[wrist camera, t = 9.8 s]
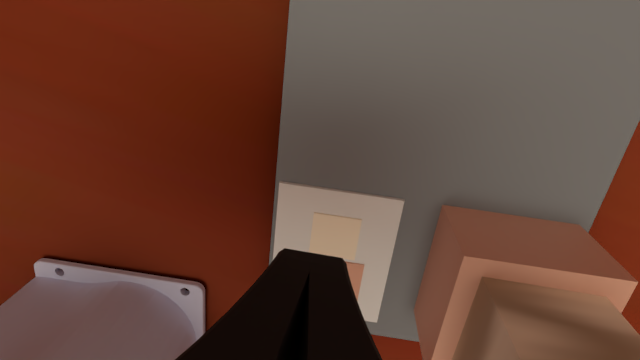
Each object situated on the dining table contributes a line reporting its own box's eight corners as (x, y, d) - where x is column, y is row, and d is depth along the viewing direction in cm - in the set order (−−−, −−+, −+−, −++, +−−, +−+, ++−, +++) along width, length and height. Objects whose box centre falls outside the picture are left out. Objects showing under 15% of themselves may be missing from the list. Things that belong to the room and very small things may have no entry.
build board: (268, 304, 22) (264, 317, 21) (300, -74, 15) (296, -80, 14) (523, 344, 21) (530, 359, 21) (685, -28, 14) (707, -30, 13)
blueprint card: (269, 303, 21) (268, 306, 20) (280, 181, 18) (278, 183, 18) (376, 319, 20) (377, 324, 20) (404, 199, 18) (404, 201, 17)
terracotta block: (413, 309, 20) (425, 377, 16) (442, 204, 18) (463, 255, 14) (533, 328, 20) (573, 401, 16) (579, 224, 17) (638, 282, 14)
